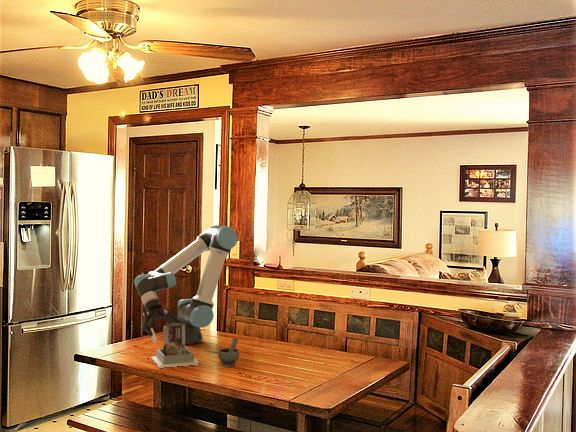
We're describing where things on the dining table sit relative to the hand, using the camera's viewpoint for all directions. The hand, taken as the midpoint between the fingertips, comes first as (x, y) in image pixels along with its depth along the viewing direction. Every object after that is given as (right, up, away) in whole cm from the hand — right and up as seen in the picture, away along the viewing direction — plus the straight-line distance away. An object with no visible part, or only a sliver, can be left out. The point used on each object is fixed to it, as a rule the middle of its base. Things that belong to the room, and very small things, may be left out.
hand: (168, 339), depth 285 cm
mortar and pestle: (+29, -11, -7) cm, 32 cm away
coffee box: (+3, -9, -3) cm, 10 cm away
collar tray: (+4, -10, -3) cm, 11 cm away
